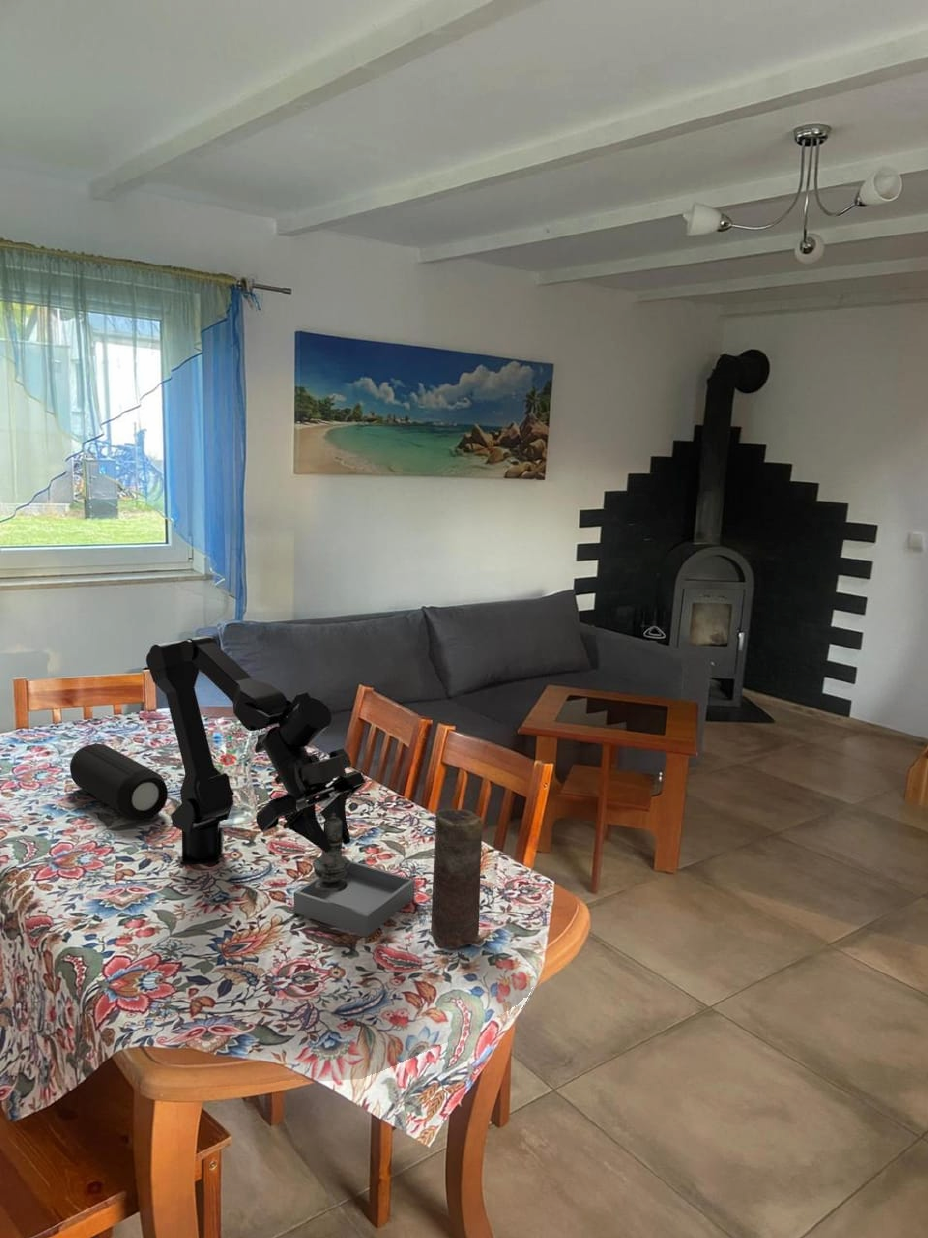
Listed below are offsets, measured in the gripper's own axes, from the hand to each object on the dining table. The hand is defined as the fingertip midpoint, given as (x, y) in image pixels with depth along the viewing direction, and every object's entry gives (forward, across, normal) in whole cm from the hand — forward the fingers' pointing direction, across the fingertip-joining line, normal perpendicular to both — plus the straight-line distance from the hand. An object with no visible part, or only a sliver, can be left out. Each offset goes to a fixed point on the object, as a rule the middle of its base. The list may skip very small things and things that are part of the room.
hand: (338, 847), depth 138 cm
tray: (+8, +6, +10) cm, 14 cm away
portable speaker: (-37, +3, +57) cm, 68 cm away
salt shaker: (+4, 0, +6) cm, 7 cm away
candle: (+20, +9, -2) cm, 23 cm away
